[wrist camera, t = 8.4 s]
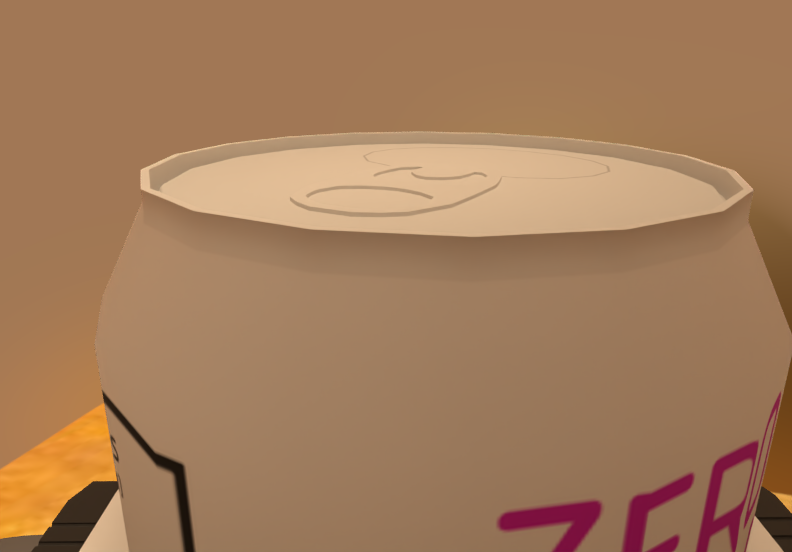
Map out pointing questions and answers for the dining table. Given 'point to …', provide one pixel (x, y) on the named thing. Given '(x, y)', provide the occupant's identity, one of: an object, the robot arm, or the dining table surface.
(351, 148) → the supplement can
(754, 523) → the robot arm
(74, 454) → the dining table surface
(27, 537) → the grey disc
